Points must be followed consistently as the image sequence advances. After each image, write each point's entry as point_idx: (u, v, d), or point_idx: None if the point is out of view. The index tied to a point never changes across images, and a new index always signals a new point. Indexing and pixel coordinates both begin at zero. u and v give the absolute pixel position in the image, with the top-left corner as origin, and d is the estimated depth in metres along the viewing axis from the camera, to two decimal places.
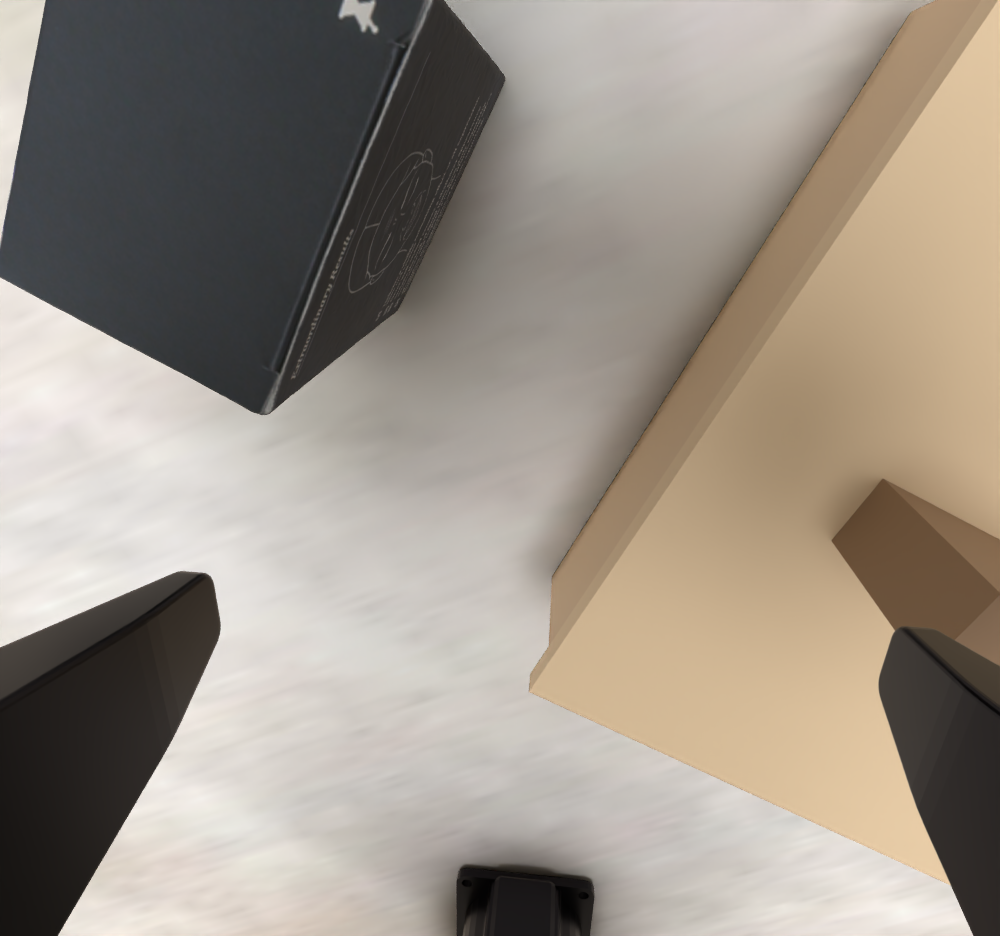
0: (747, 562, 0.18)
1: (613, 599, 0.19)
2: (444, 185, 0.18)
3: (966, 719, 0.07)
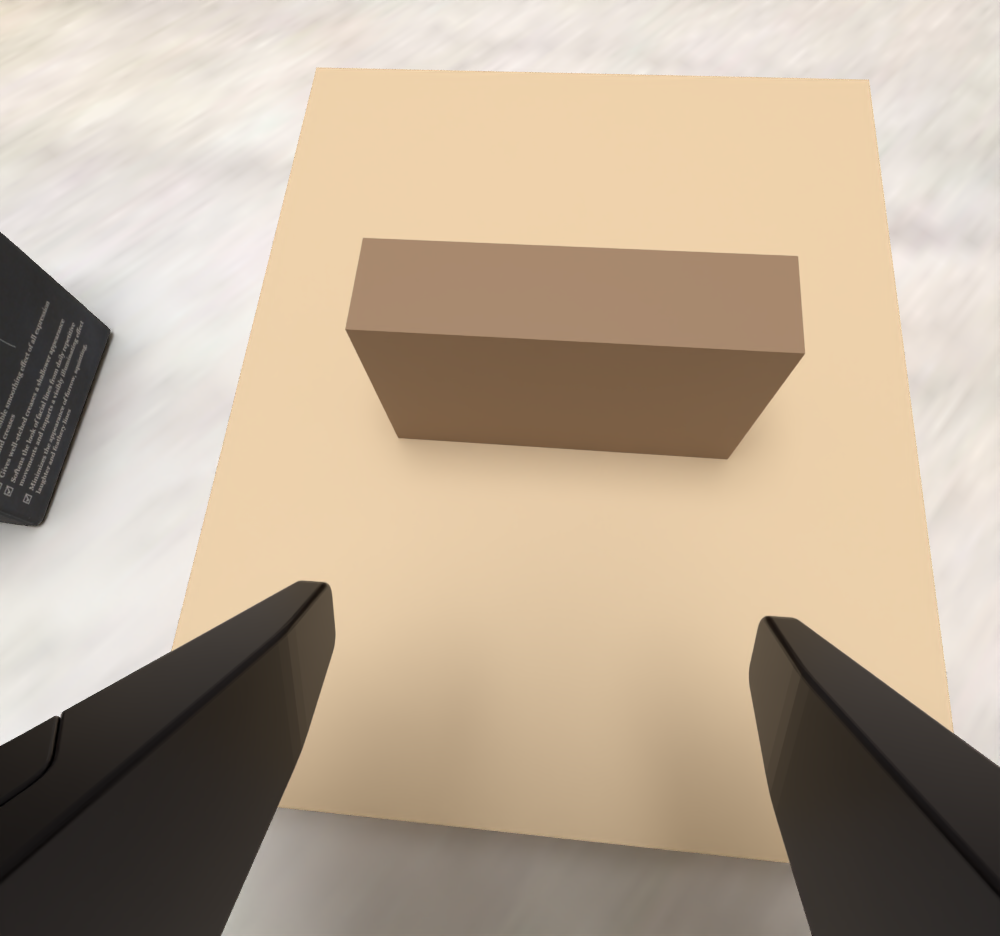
0: (330, 493, 0.16)
1: (206, 599, 0.16)
2: (38, 372, 0.22)
3: (802, 705, 0.07)
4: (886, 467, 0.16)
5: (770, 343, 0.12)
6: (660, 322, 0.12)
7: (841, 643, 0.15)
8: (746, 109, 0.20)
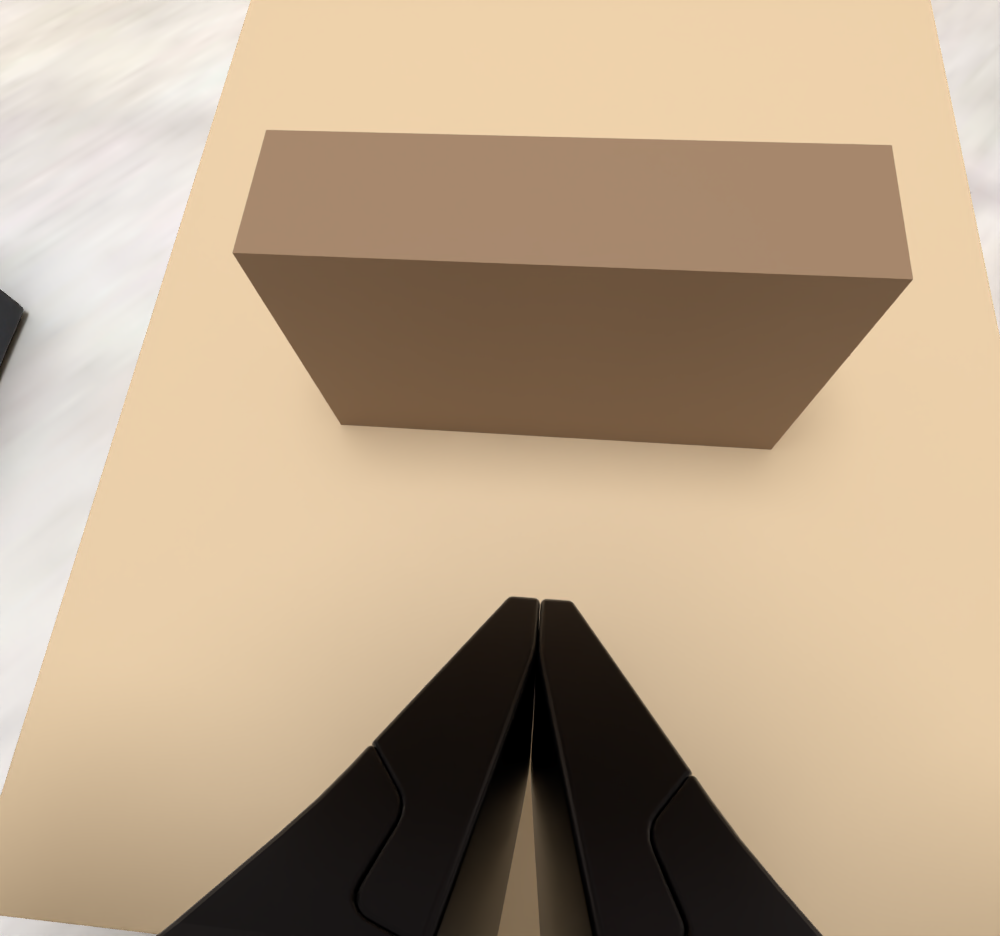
0: (250, 497, 0.13)
1: (79, 638, 0.12)
2: None
3: (538, 682, 0.07)
4: (981, 458, 0.12)
5: (860, 265, 0.08)
6: (694, 239, 0.08)
7: (935, 697, 0.11)
8: (779, 23, 0.16)
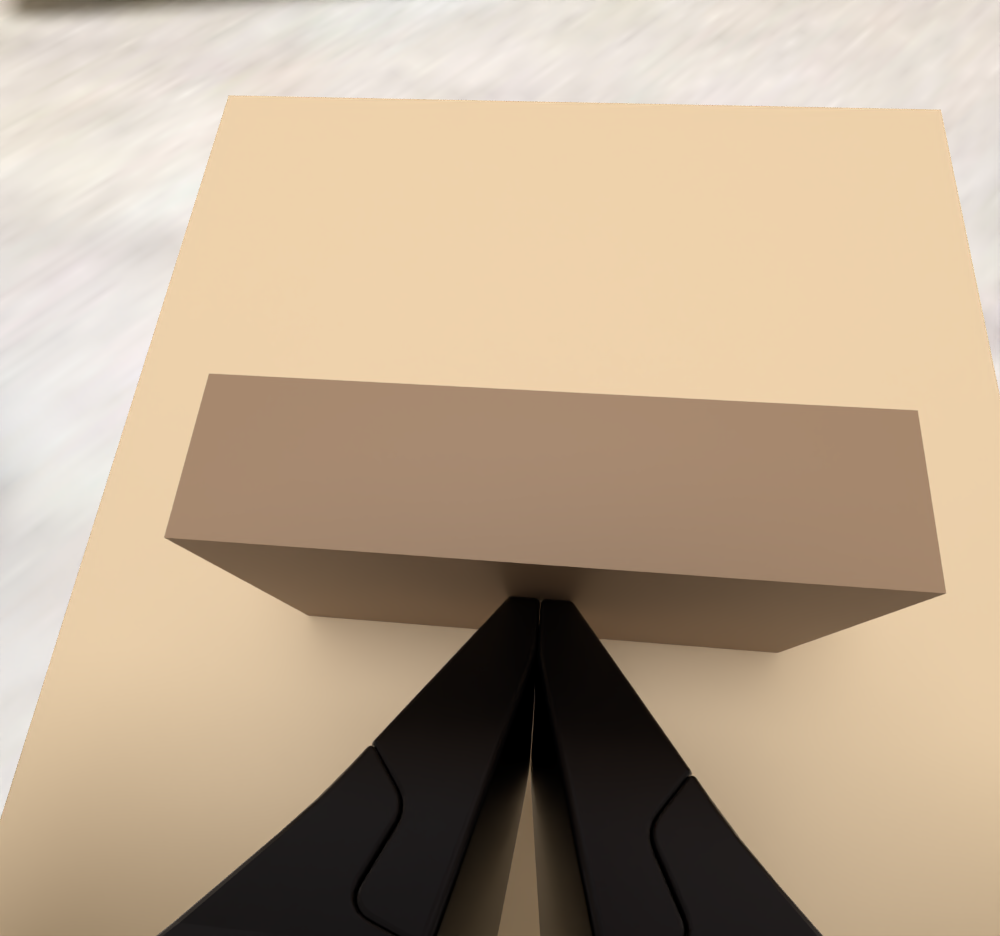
0: (208, 702, 0.11)
1: (15, 874, 0.11)
2: None
3: (538, 682, 0.07)
4: None
5: (883, 572, 0.07)
6: (693, 532, 0.07)
7: None
8: (782, 147, 0.15)
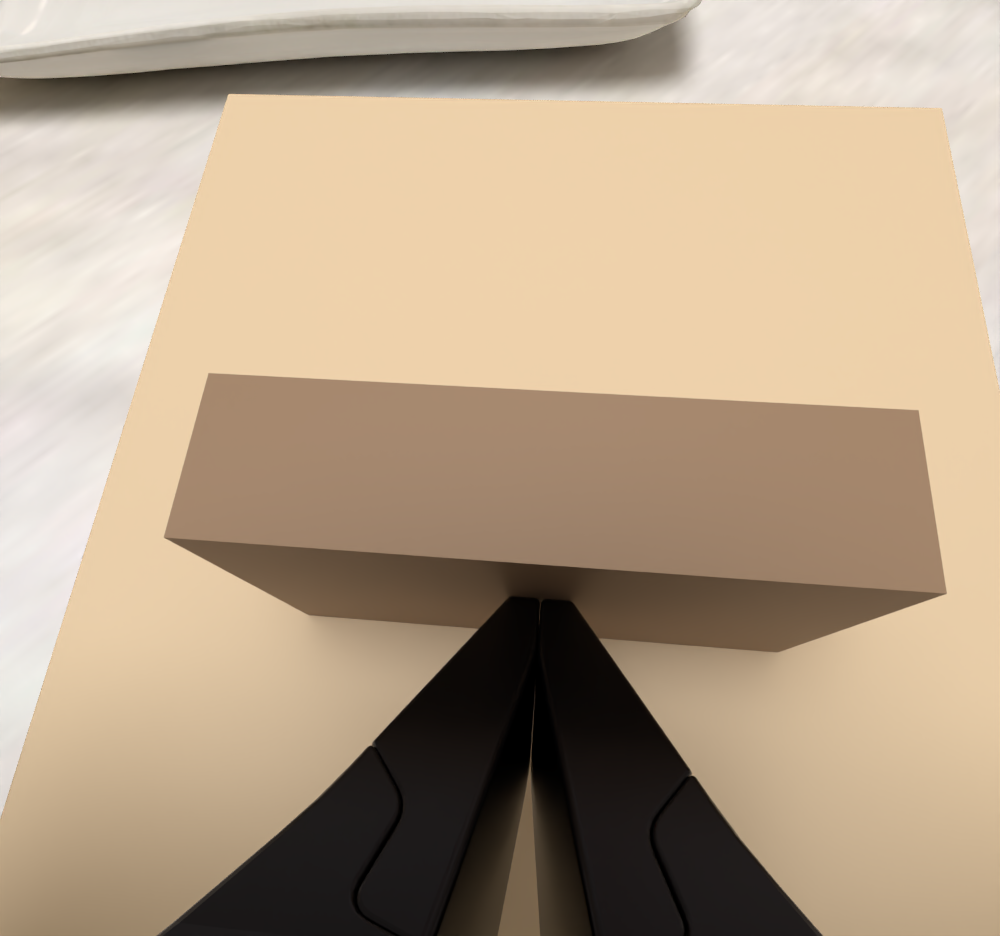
0: (208, 702, 0.11)
1: (15, 873, 0.11)
2: None
3: (538, 683, 0.07)
4: None
5: (885, 572, 0.07)
6: (693, 532, 0.07)
7: None
8: (783, 146, 0.15)
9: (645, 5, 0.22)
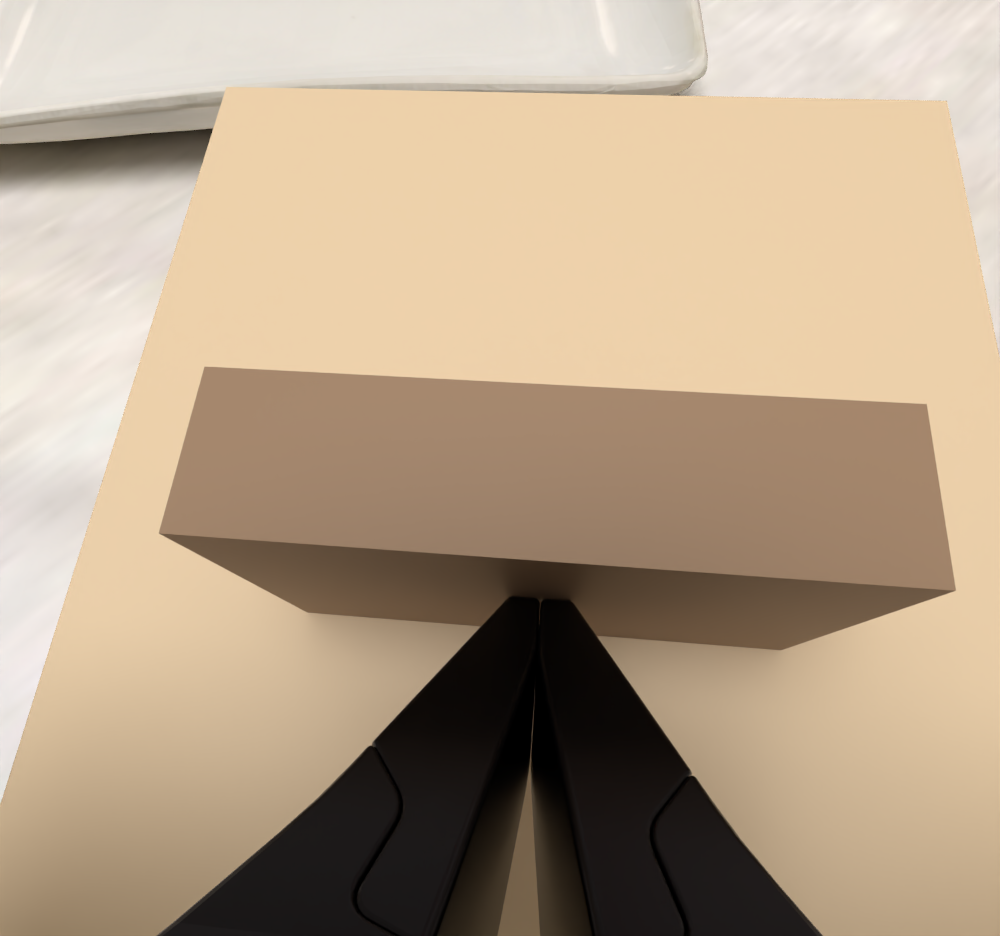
0: (205, 700, 0.11)
1: (10, 872, 0.11)
2: None
3: (538, 682, 0.07)
4: None
5: (892, 569, 0.07)
6: (697, 528, 0.07)
7: None
8: (786, 139, 0.15)
9: (646, 76, 0.20)
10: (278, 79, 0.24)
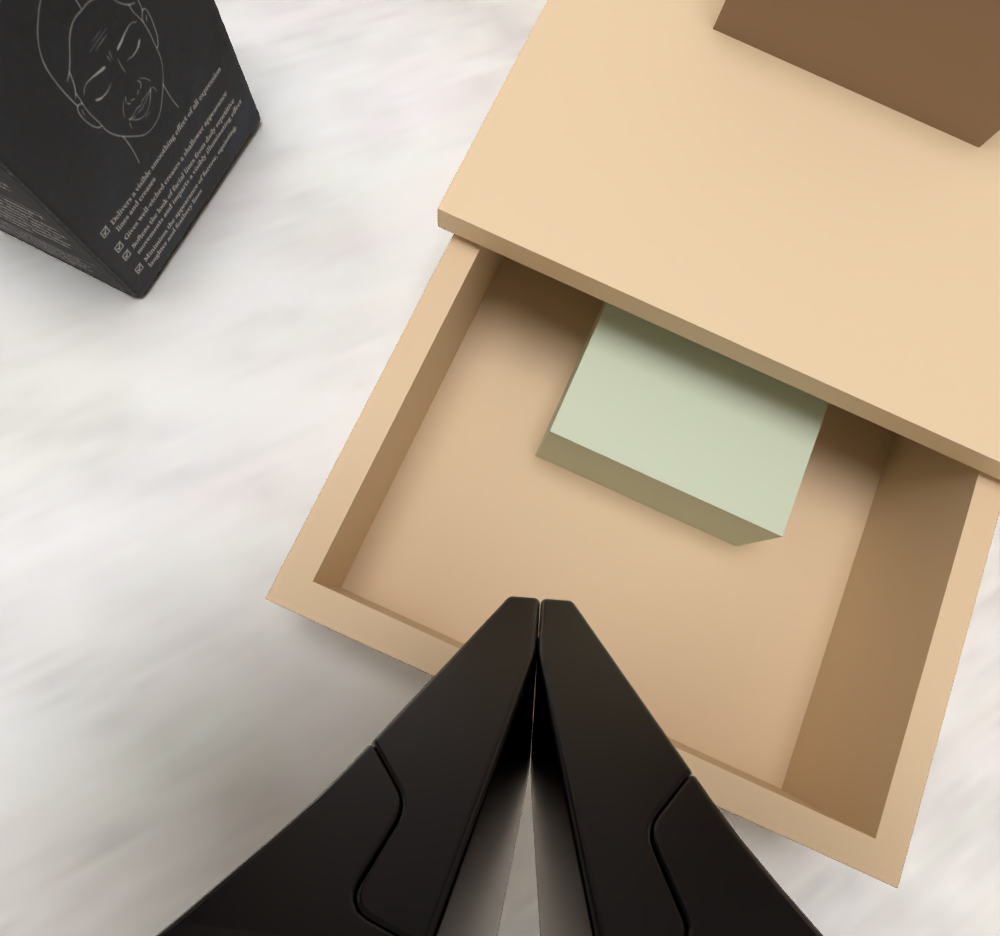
0: (644, 50, 0.18)
1: (522, 90, 0.18)
2: (188, 141, 0.21)
3: (538, 682, 0.07)
4: None
5: None
6: None
7: None
8: None
9: None
10: None
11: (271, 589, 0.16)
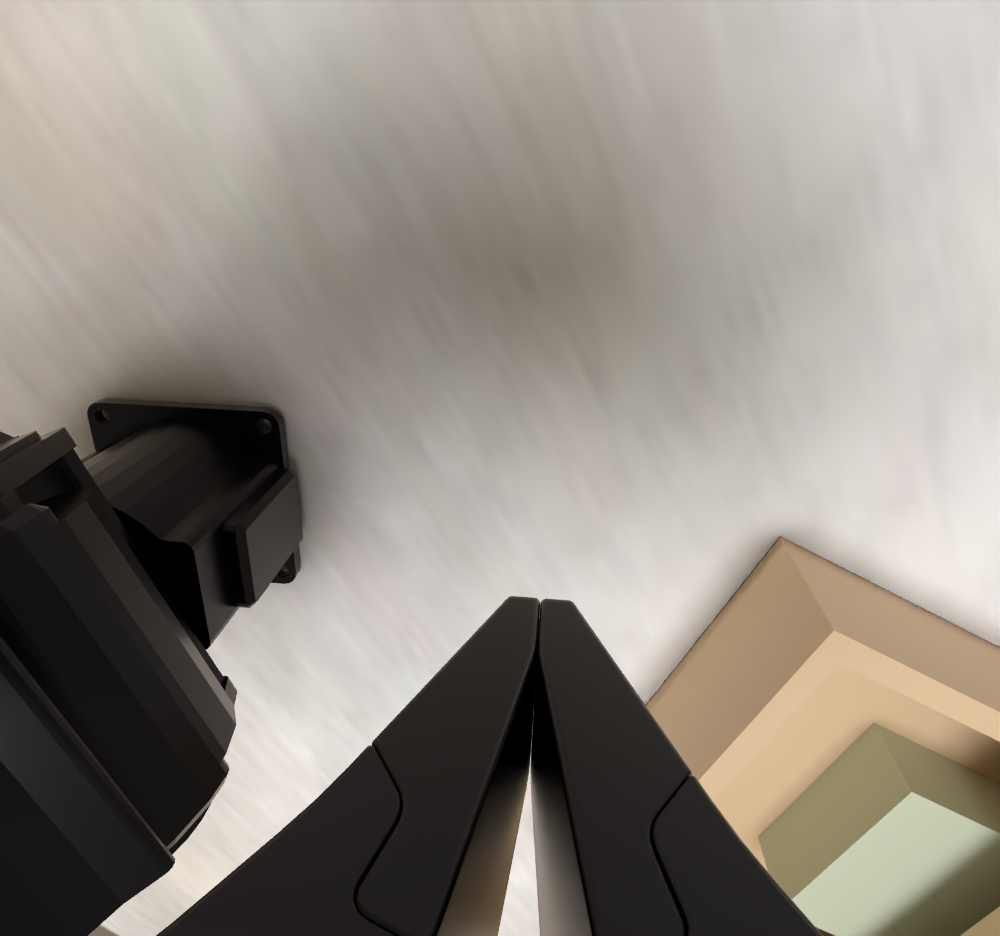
0: None
1: None
2: None
3: (538, 682, 0.07)
4: None
5: None
6: None
7: None
8: None
9: None
10: None
11: (839, 630, 0.18)
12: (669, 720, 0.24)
